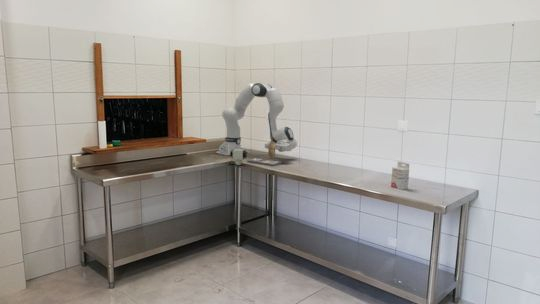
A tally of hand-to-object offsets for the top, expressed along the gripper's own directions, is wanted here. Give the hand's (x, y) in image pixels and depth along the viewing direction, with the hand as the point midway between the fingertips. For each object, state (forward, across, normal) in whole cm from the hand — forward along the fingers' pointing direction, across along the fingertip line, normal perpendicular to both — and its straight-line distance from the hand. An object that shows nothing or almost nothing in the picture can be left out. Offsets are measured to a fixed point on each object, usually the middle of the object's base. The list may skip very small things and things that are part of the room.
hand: (271, 147), depth 300 cm
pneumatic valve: (+17, -16, +12) cm, 27 cm away
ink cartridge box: (+8, +99, +13) cm, 100 cm away
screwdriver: (-1, 0, +7) cm, 7 cm away
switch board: (-1, -6, +12) cm, 14 cm away
